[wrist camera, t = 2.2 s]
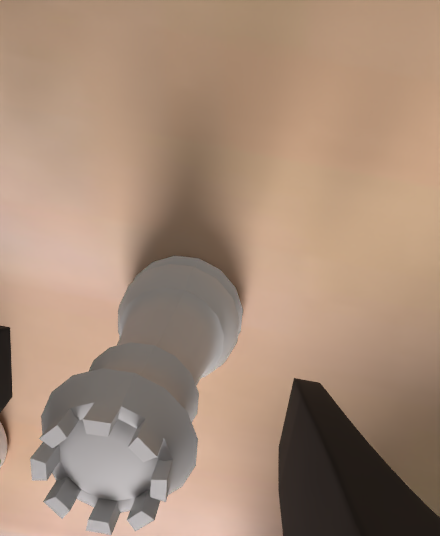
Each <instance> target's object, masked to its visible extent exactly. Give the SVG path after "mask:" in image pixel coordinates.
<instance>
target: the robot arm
mask: <svg viewBox="0 0 440 536" xmlns="http://www.w3.org/2000/svg"><path fill="white" fill-rule="evenodd" d="M11 398H12V374H11V344H10V327H4V326H0V412H1V411H2V410H3V408H4V407H5V406H6V404H7V403H8V402H9V400H10V399H11ZM279 499H280V509H281V518H282V528H283V536H440V518H439V517H438V516H437V515H436V514H435V513H434V512H433V511H432V510H431V509H430V508H429V507H428V506H427V505H426V504H425V503H424V502H423V501H422V500H421V499H420V498H419V497H418V496H417V495H416V494H415V493H414V492H413V491H412V490H411V489H410V488H409V487H408V486H407V485H406V484H405V483H404V482H403V481H402V480H401V479H400V477H399V476H398V475H397V474H396V473H395V472H394V471H393V470H392V469H391V468H390V467H389V466H388V465H387V464H386V462H385V461H384V460H383V459H382V458H381V457H380V456H379V455H378V453H377V452H376V451H375V450H374V449H373V448H372V447H371V445H370V444H369V443H368V442H367V441H366V440H365V438H364V437H363V436H362V435H361V434H360V432H359V431H358V430H357V429H356V427H355V426H354V425H353V424H352V423H351V421H350V420H349V419H348V418H347V416H346V415H345V414H344V413H343V411H342V410H341V409H340V408H339V406H338V405H337V404H336V402H335V401H334V400H333V399H332V397H331V396H330V395H329V394H328V392H327V391H326V390H325V389H324V387H323V386H322V385H321V384H320V383H318V382H312V381H307V380H301V379H296V378H294V381H293V386H292V390H291V395H290V399H289V404H288V408H287V413H286V417H285V422H284V426H283V431H282V435H281V440H280V444H279Z"/></svg>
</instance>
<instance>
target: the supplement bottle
mask: <svg viewBox="0 0 440 536" xmlns="http://www.w3.org/2000/svg"><path fill="white" fill-rule="evenodd" d="M6 454H7V438H6V434H5V431H4V428H3V426H2V424H1V422H0V468H1V466H2V465H3V463H4V460H5V458H6Z"/></svg>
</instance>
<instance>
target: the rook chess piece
mask: <svg viewBox="0 0 440 536" xmlns="http://www.w3.org/2000/svg"><path fill="white" fill-rule="evenodd" d="M242 313H243V309H242V305H241V302H240V299H239V296H238V293H237V290H236V288H235V286H234V285H233V284H232V283H231V282H230V280H229V279H228V278H227V277H226V276H225V275H224V273H223V272H222V271H221V270H220V269H218V268H216V267H214V266H212V265H210V264H209V263H207V262H205V261H203V260H201V259H199V258H191V257H182V256H172V257H168V258H165V259H162V260H158V261H155V262H152V263H151V264H150V265H148V266H147V267H146V268H145V269H144V270H142V271H141V272H140V273H139V274H138V275H137V276H135V278H134V280H133V282H132V283H131V284H130V285H129V286H128V288H127V290H126V292H125V294H124V296H123V299H122V301H121V303H120V305H119V309H118V333H119V335H120V340H119V342H118V344H117V346H114V347H110V348H109V349H107V350H106V351H105V352H104V353H102V354H101V355H100V356H99V357H97V358H96V359H95V360H94V361H93V363H92V365H91V367H90V370H89V372H85V373H81V374H77V375H73V376H72V377H70V378H69V379H68V380H67V381H65V382H64V383H63V384H62V385H60V386H59V387H58V388H57V389H55V390H54V391H53V392H52V393H51V395H50V397H49V399H48V402H47V404H46V406H45V409H44V411H43V413H42V416H41V418H42V434H43V435H42V436H41V437H40V438H39V439H40V440H41V441H43V443H42V444H41V445H40V447H39V448H38V449H37V451H36V452H35V453H34V454H33V456H32V457H31V458H30V460H31V473H32V480H47V479H48V478H49V476H50V475H51V473H53V475H54V477H55V479H56V483H55V484H54V486H53V487H52V489H51V490H50V492H49V493H48V495H47V497H46V498H45V500H44V501H43V502H44V503H45V504H47V505H48V506H49V507H50V508H51V509H52V510H53V511H54V512H55V513H56V514H57V515H58V516H59V517H61V518H62V519H63V517H64V516H65V515H66V514H67V513H68V512H69V511H70V509H71V508H72V506H73V504H74V502H75V500H76V499H78V500H80V501H82V502H84V503H86V504H88V505H90V506H92V507H94V509H93V511H92V513H91V515H90V517H89V519H88V524H87V528H86V531H91V532H97V533H103V534H109V535H112V532H113V530H114V527H115V525H116V522H117V520H118V517H119V515H120V512H127V511H130V513H129V516H128V519H127V521H128V522H129V523H130V525H131V526H132V527H133V529H134V530H135V531H137V530H138V529H140V528H142V527H144V526H145V525H147V524H149V523H150V522H152V521H154V520H155V517H156V513H157V510H158V506H159V503H160V500H161V501H164V502H166V500H167V496H168V495H169V494H171V493H172V492H174V491H176V490H177V489H179V488H181V487H182V486H183V484H184V483H185V481H186V480H187V478H188V477H189V475H190V473H191V472H192V470H193V469H194V467H195V466H196V455H197V443H198V438H197V436H196V433H195V430H194V428H193V425H192V421H193V419H194V418H195V416H196V414H197V410H198V397H199V393H198V390H197V387H196V385H197V383H198V382H199V380H200V379H201V378H202V377H205V376H207V375H208V374H210V373H211V372H213V371H214V370H215V369H217V368H218V367H220V366H221V365H223V363H224V362H225V361H226V360H227V358H228V357H229V355H230V353H231V352H232V350H233V348H234V347H235V345H236V343H237V340H238V335H239V333H240V331H241V322H242Z"/></svg>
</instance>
